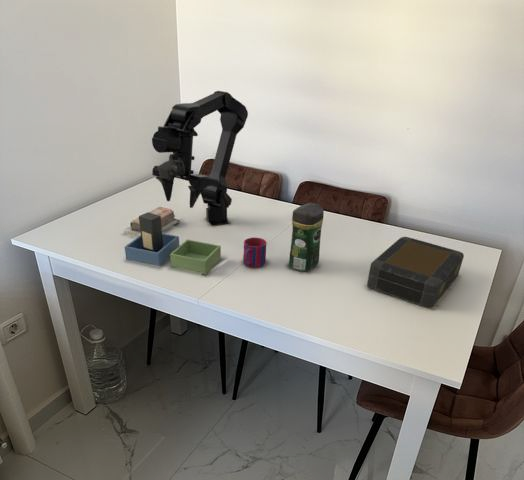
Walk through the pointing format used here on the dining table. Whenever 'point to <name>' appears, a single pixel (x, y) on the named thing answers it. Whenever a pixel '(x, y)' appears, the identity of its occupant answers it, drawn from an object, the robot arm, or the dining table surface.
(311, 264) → the coffee jar
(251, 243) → the red cup
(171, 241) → the blue bin
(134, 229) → the packaged product
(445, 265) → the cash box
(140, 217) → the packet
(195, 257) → the green bin
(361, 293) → the dining table surface
